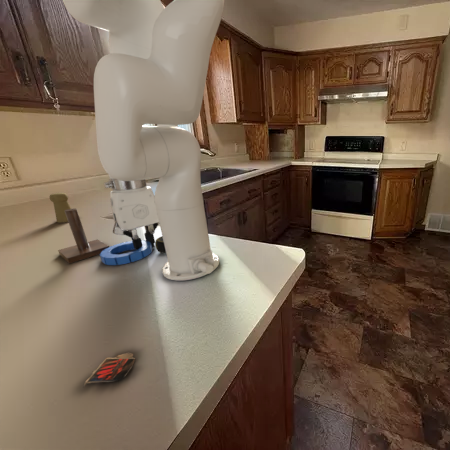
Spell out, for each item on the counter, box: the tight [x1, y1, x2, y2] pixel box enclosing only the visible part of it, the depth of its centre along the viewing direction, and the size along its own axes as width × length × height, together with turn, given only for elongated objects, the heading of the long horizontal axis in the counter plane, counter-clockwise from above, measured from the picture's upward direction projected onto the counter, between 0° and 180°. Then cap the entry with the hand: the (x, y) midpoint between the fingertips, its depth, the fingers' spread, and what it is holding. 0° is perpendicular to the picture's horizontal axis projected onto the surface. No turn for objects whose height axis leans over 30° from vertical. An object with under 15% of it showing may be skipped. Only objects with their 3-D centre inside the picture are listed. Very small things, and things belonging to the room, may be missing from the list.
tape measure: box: [154, 235, 166, 254], centre depth 68 cm, size 7×7×4 cm
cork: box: [49, 192, 73, 224], centre depth 96 cm, size 6×6×11 cm
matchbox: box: [83, 352, 136, 387], centre depth 33 cm, size 5×5×1 cm
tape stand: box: [57, 208, 110, 264], centre depth 66 cm, size 9×9×12 cm
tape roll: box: [99, 239, 153, 266], centre depth 66 cm, size 11×11×2 cm
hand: (145, 248), depth 69 cm, fingers closed on tape roll, 2 cm apart
